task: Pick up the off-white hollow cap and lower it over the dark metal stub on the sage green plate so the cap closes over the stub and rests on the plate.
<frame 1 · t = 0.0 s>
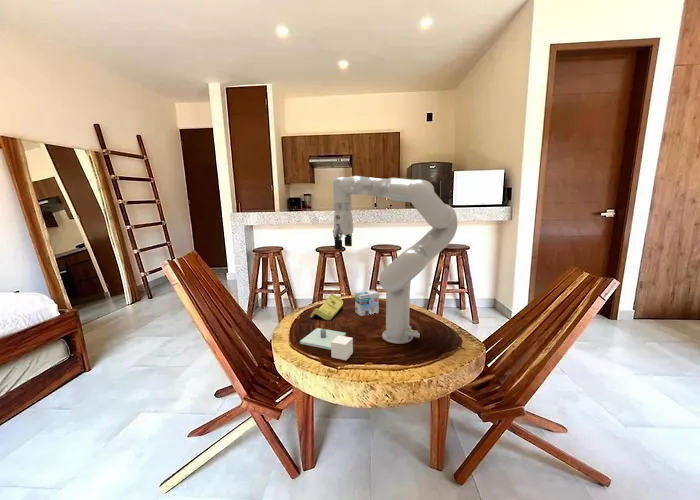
hand: (343, 247, 131), 37 cm above the table, tool pointing down, fingers open, 9 cm apart
stub plate: (323, 339, 127), on the table
plastic component: (328, 314, 156), on the table
housing cap: (342, 355, 113), on the table
light bulb box: (367, 313, 156), on the table
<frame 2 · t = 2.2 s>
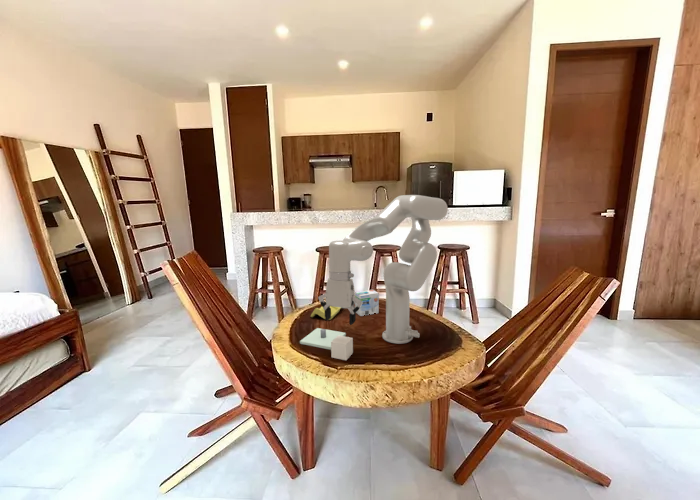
hand: (339, 321, 111), 13 cm above the table, tool pointing down, fingers open, 9 cm apart
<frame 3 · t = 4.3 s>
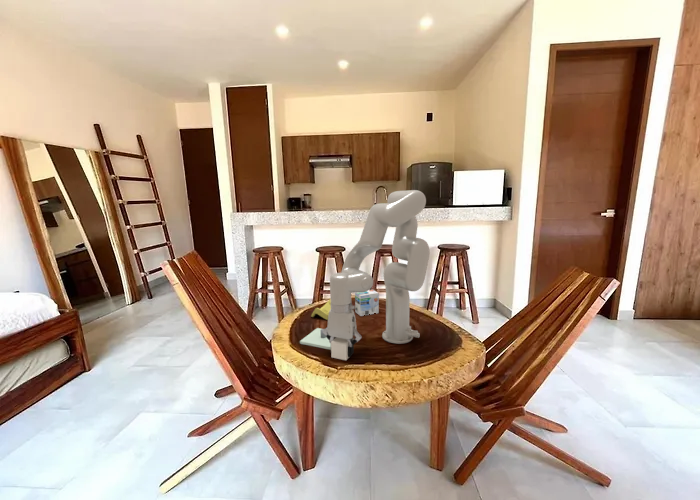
hand: (342, 353, 113), 1 cm above the table, tool pointing down, fingers closed on housing cap, 6 cm apart
housing cap: (342, 355, 113), on the table, touching gripper
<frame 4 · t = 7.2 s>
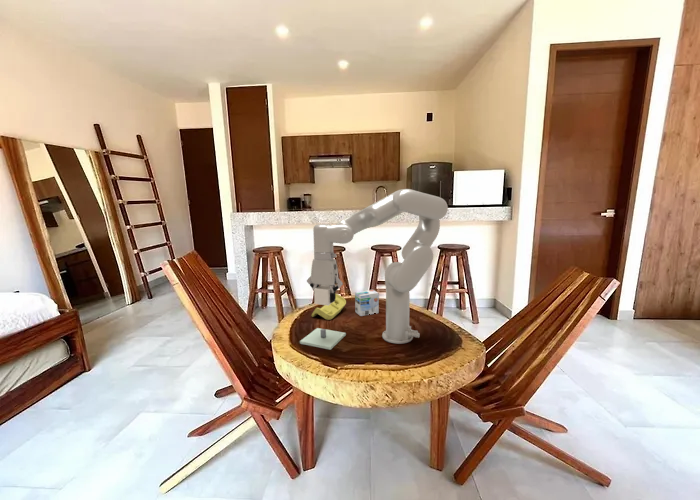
hand: (324, 300, 121), 18 cm above the table, tool pointing down, fingers closed on housing cap, 6 cm apart
housing cap: (324, 302, 121), point 17 cm above the table, touching gripper
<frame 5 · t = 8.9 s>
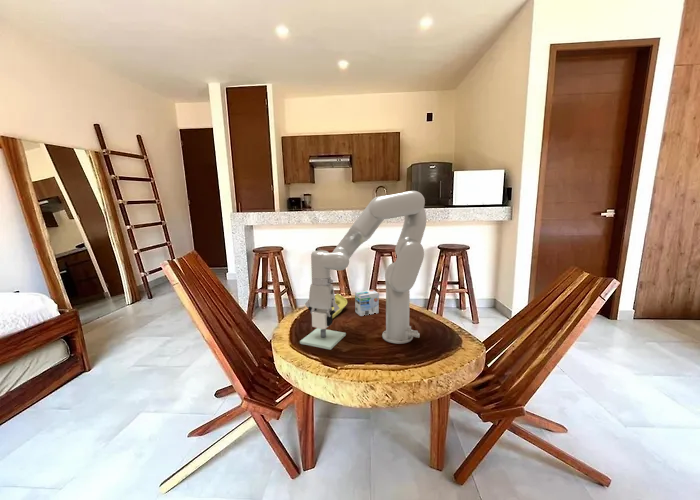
hand: (322, 323, 126), 7 cm above the table, tool pointing down, fingers closed on housing cap, 6 cm apart
housing cap: (322, 325, 126), point 6 cm above the table, touching gripper
when the fingers open (3 cm above the table, at t = 10.5 s): housing cap drops 1 cm, resting on stub plate.
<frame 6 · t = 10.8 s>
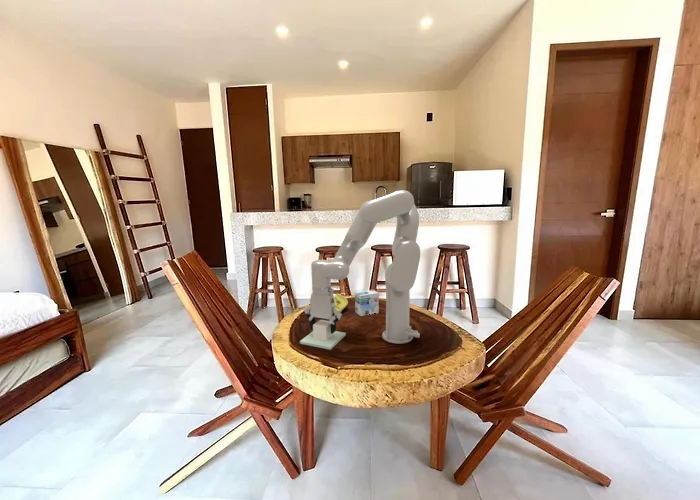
hand: (323, 330, 126), 4 cm above the table, tool pointing down, fingers open, 9 cm apart
housing cap: (323, 337, 127), point 1 cm above the table, touching stub plate
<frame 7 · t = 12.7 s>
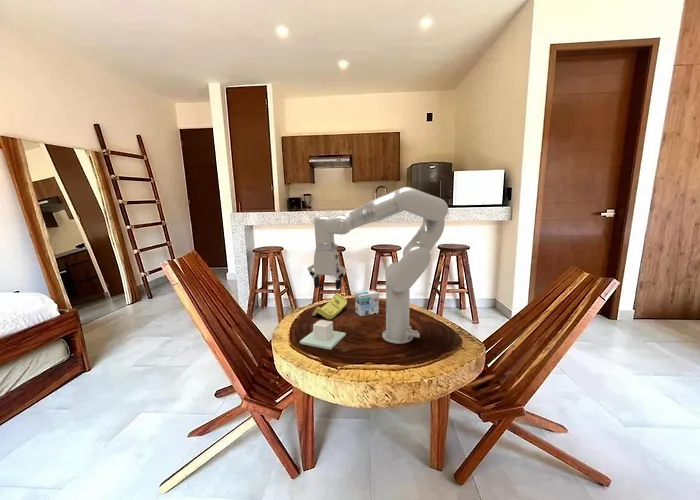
hand: (327, 288, 126), 21 cm above the table, tool pointing down, fingers open, 9 cm apart
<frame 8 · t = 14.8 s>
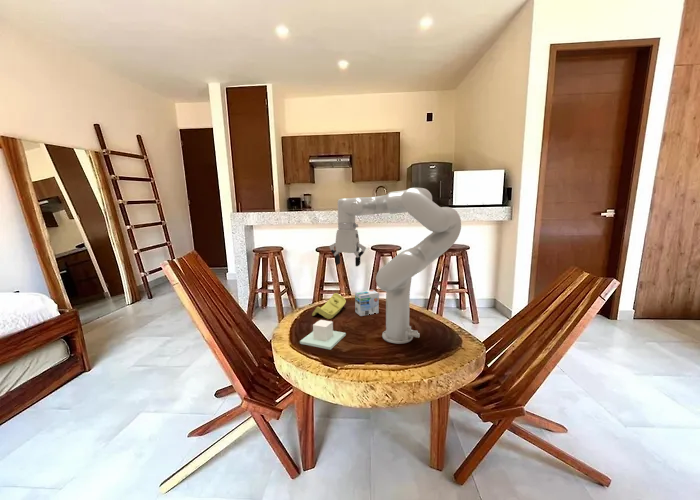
hand: (347, 265, 136), 28 cm above the table, tool pointing down, fingers open, 9 cm apart
at the end: housing cap 0.1 cm off-centre on the stub plate, point 1.0 cm above the stub plate's base; housing cap tilted 0°; the gripper is holding nothing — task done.
